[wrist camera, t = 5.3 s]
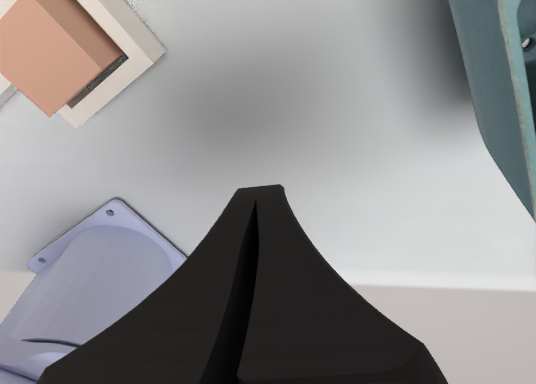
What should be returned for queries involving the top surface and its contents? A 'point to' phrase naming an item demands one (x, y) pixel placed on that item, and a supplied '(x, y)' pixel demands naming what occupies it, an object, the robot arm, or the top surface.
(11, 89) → the side socket
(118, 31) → the button strip
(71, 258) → the robot arm
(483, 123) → the flower pot
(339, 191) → the top surface
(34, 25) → the orange-brown cube
